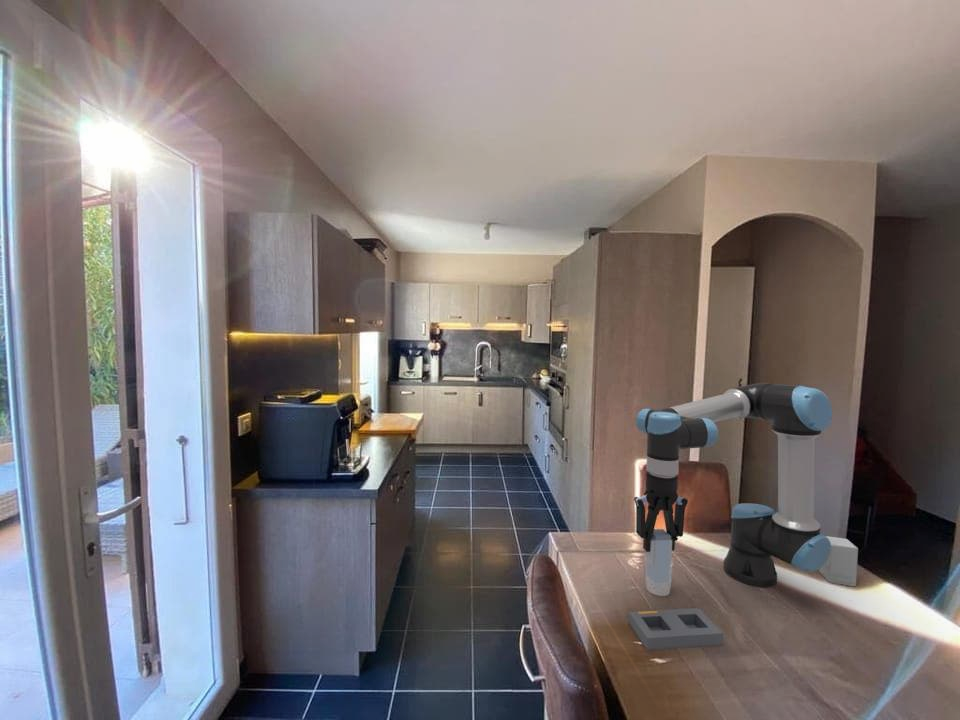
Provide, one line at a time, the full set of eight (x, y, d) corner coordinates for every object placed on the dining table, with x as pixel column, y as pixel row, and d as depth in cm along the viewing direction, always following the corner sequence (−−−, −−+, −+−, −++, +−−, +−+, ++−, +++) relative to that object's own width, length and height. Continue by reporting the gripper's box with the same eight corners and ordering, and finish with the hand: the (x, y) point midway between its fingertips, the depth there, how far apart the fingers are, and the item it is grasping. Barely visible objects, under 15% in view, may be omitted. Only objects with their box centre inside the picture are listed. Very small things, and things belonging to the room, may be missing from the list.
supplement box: (856, 587, 134) (859, 548, 134) (828, 583, 137) (830, 544, 136) (845, 575, 141) (847, 538, 141) (818, 571, 144) (820, 534, 143)
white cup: (674, 601, 126) (675, 569, 125) (646, 598, 127) (647, 565, 127) (668, 586, 134) (669, 555, 133) (641, 583, 135) (643, 552, 135)
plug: (660, 573, 112) (662, 528, 111) (669, 582, 108) (671, 536, 107) (646, 574, 111) (648, 529, 111) (654, 582, 107) (656, 536, 107)
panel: (697, 621, 117) (698, 607, 117) (722, 648, 107) (723, 632, 107) (628, 626, 115) (628, 611, 115) (646, 653, 105) (647, 637, 105)
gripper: (684, 468, 113) (681, 554, 114) (623, 469, 111) (620, 556, 112) (702, 477, 105) (698, 569, 106) (636, 478, 103) (633, 572, 105)
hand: (658, 562), depth 109 cm, fingers closed on plug, 4 cm apart
